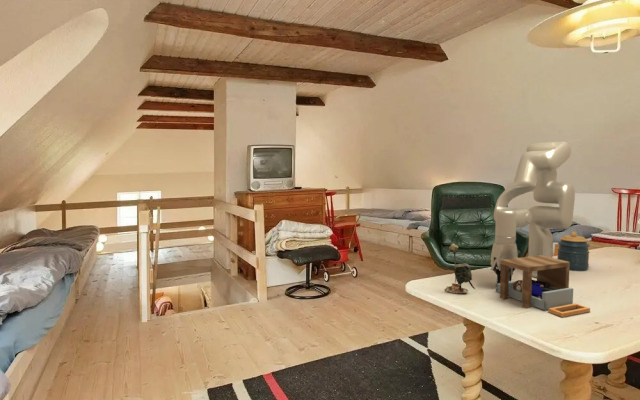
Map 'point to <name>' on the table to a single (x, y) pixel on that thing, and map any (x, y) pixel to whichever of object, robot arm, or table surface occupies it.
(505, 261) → the small wooden table
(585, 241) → the canister
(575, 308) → the wooden rectangular frame
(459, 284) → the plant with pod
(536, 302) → the sled
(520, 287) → the character figurine
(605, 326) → the table surface
